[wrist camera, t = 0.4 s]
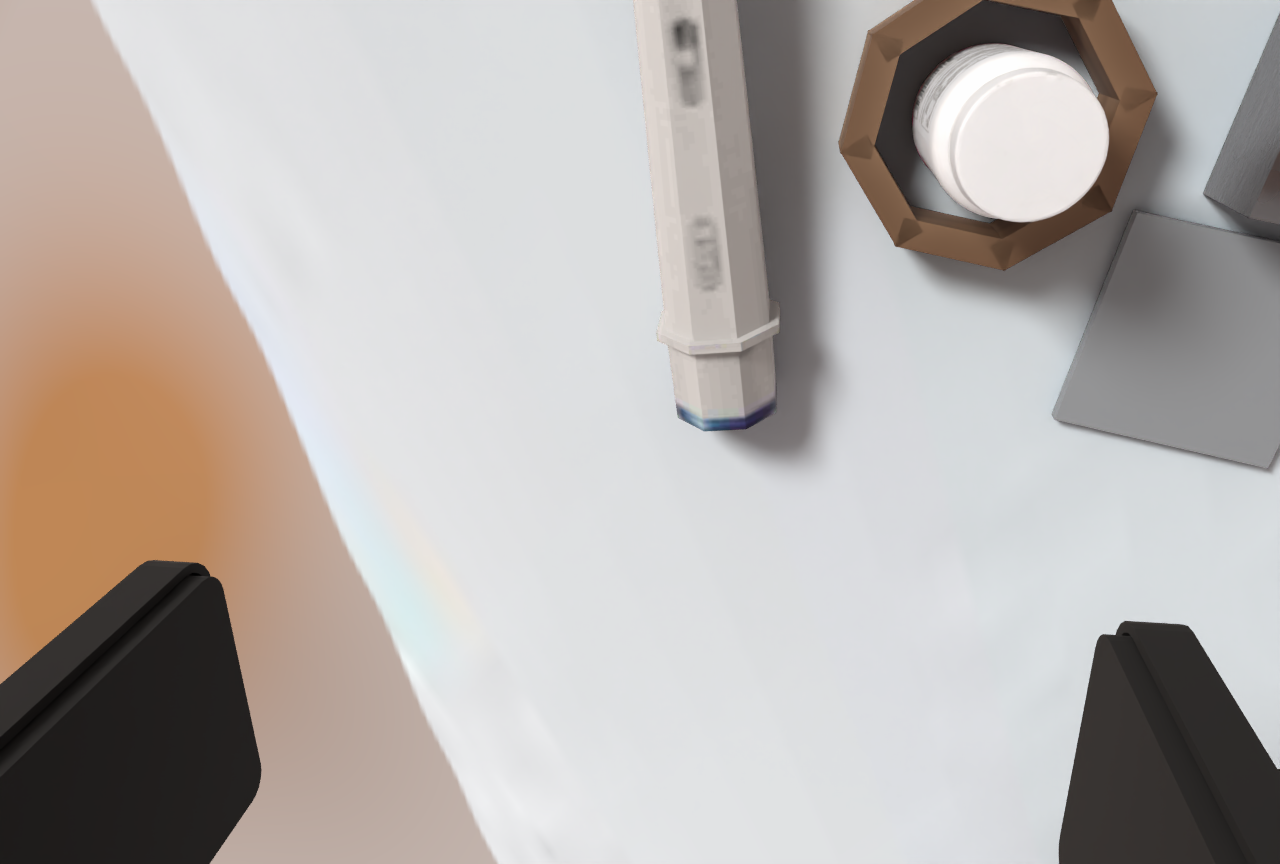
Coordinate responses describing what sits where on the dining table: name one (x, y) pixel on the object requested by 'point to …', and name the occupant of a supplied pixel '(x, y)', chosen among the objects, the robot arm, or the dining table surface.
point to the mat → (1184, 342)
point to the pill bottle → (1010, 132)
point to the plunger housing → (1254, 145)
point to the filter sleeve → (999, 241)
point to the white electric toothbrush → (707, 213)
